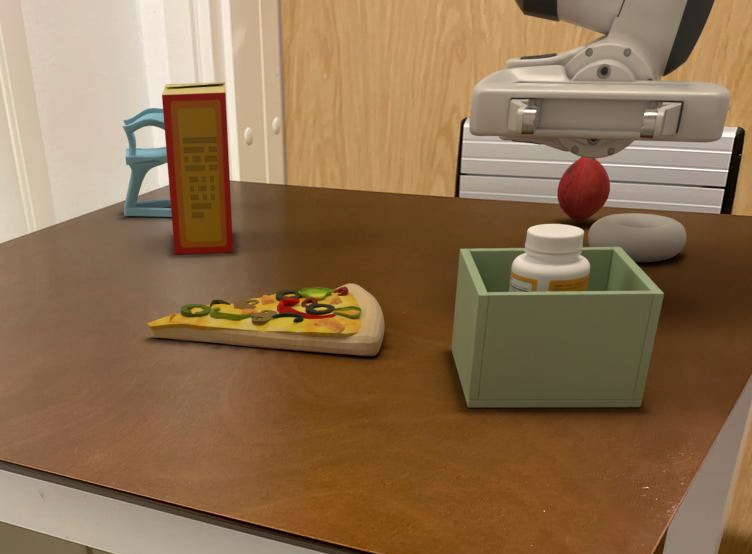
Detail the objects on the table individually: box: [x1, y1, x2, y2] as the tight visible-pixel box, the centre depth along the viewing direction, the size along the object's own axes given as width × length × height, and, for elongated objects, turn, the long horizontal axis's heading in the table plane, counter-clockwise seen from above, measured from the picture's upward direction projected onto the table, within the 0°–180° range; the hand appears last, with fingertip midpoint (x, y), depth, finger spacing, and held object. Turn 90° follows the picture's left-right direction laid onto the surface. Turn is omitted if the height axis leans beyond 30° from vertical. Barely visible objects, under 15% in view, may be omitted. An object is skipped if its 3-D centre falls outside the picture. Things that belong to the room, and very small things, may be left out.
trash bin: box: [451, 246, 665, 409], centre depth 73 cm, size 12×12×8 cm
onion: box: [556, 157, 611, 225], centre depth 113 cm, size 6×6×8 cm
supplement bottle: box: [509, 223, 590, 292], centre depth 72 cm, size 6×6×10 cm
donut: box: [587, 212, 688, 264], centre depth 103 cm, size 10×3×10 cm
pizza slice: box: [146, 282, 386, 357], centre depth 85 cm, size 16×21×3 cm
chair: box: [122, 107, 172, 218], centre depth 122 cm, size 8×8×12 cm
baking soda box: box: [161, 81, 234, 255], centre depth 107 cm, size 10×6×16 cm
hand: (587, 124), depth 74 cm, fingers open, 8 cm apart
